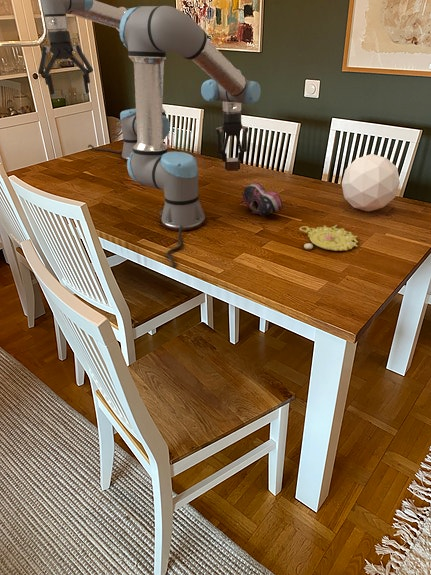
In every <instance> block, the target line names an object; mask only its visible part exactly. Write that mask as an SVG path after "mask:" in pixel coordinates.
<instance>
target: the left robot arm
mask: <svg viewBox="0 0 431 575" xmlns="http://www.w3.org/2000/svg"><path fill="white" fill-rule="evenodd" d="M40 1H41V5H42V10H43V11H42V12H43V15H44V21H45V25H46V30H48V32H47V35H48V41H49V46H47V45H42V47H41V51H42V52H41V57H40V61H39V67H38V71H37V73H38V75H42V76H43V77H44V81H45V85H46V86H48V88H49V93H50V95H52V96H53V95H54V94H55V89H54V85H53V78H52V75H51V74H50V72H51V70H52V68H53V67H54V65H55V63H56V61H57V60H68V59H69V60H70V61H71V62H73V63H74V64H75V65H76V67H78V69H79V70H80V71H82V73H83V74H82V78H83V85H84V90H85V94H89V93H90V88H89V84H90V83H91V79H90V73H93V72H94V68H93V67H92V65H91V63H90V62H89V60H88V59H87V57H86V55H85V53H84V52H83V50H82V46H81V45H80V44H76V45H73V44H72V39H71V34H70V31H69V24H68V18H67V15H70V16H73V17H77V18H81V19H84V20H87V21H90V22H93V23H94V22H95V23H96V24H97V23H98V24H100V25H104V26H108V27H110V28H111V27H112V28H115V29H116V30H117V31H118V32H119V28H120V22H121V19H122V17H123V15H124V14H125V13H126V11H127V10H129V9H130V8H128V7H124V6H119V7H116V6H113V5H109V4H107V3H104V2H100V1H98V0H40ZM73 51H75V52H76V53H77V55H78V56H79V58H80V59H81V61H82V62H81V61H80V60H79V59H78V58H76V56H75V55H74V54H73ZM50 52H51V53H52V56H51V58H50V60H49V62H48V64H47V63H46V62H47V59H48V54H49V53H50ZM46 64H47V66H46ZM84 65H85V66H84ZM45 66H46V68H45ZM164 72H165V60H164V61H163V62H162V64H161V75H162V105H163V104H164V101H163V100H164V74H165V73H164ZM119 117H120V118H119V119H120V125H121V133H122V139H123V140H122V141H123V145H122V150H113V149H108V148H98V147H94V146H93V145H92V144H88V145H87V148H90V147H91V149H93V150H95V151H103V152H110V153H113V154H114V153H115V154H121V159H122V160H123V161H126V162H127V161H128V158H130V154H131V153H132V152H133V146H134V145H135V144H136V143H137V122H136V108H130V109H125V110H122V111H121V112H120V113H119ZM162 127H163V141H164V140H165V139H166V138H167V137H168V135H169V133H170V130H171V122H170V120H169V118H168V117H167V116H166V110H165V109H164V107H163V106H162Z"/></svg>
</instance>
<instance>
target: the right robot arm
mask: <svg viewBox="0 0 431 575" xmlns="http://www.w3.org/2000/svg"><path fill="white" fill-rule="evenodd" d="M118 32H119V38H120V40H121V42H122V43H123V46H124V47H125V48H126V49H127V52H128V58H129V59H130V61H132V63H133V74H134V75H133V76H134V92H135V93H134V97H135V100H134V101H135V109H136V122H137V143H136V144H135V145H134V146H133V152H132V153H131V154H130V158H128V161H126V169H127V172H128V175H129V178H131V180H133V181H134V182H135V183H137V184H138V185H141V186H143V187H149V188H153V189H156V190H160V191H162V192H163V194H164V204H163V209H162V210H159V216H161V219H160V220H161V225H162V227H163V228H165V229H167V230H170V231H175V232H176V231H177V232H178V236H177V242H178V243H179V245H178V246H175V247H173V248H171V249H169V250H168V251H167V252H166V257H167V258H168V259H169V260H170V262H171V265H172V268H173V269H175V268H176V264H175V259H174V258H173V257H172V256H171V255H170V253H172V252H174V251H177V250H179V249H181V248H182V247H183V242H182V240H181V238H182V232H185V231H186V232H187V231H192V230H195V229H198V228H201V227H202V226H203V225H204V224H205V223H206V215H205V212H204V210H203V208H202V204H201V202H200V196H199V168H198V162H197V160H196V158H195V156H193V155H192V154H190V153H187V152H184V151H168V146H167V145H166V144H165V143H164V140H163V127H162V107H163V104H162V75H161V64H162V62H163V61H164V62H165V60H167V52H168V53H169V52H170V53H174V54H177V55H180V56H181V57H182V58H184V59H185V60H187V61H192V62H193V63H194V64H196V66H198V67H199V68H200V69H201V70H202V71H203V72H205V74H207V75H208V77H210V79H207V80H205V81H204V82H202V85H201V88H200V92H201V96H202V98H203V99H204V100H205V101H206V102H208V103H213V102H215V103H216V102H222V125H221V126H220V127H216V128H215V131H216V134H217V153H218V154H221V160H222V162H224V170H225V171H227V158H228V154H227V152H226V151H227V147H228V142H229V140H230V137H232V136H233V137H235V138H236V143H237V147H238V150H239V152H237V158H238V161H239V170H241V162H243V160H244V153H247V152H248V132H249V127H248V126H244V125H243V123H242V112H241V111H242V104H244V105H254V104H257V103H258V102H259V100H260V97H261V85H260V83H259V82H257V81H253V80H248V79H247V78H246V77H245V76H244V75H243V74H242V71H241V70H240V69H237V67H235V66H234V65H233V64H232V63H231V61H230V60H228V58H226V57H225V56H224V55H223V54H222V52H221V51H219V49H218V48H217V47H216V46H215V45H214V44H213V43H212V41H210V40H209V39H208V35H207V32H206V31H205V30H204V28H202V27H201V26H200V25H199V24H198V22H197V21H195V20H194V19H193V18H191V17H190V16H189V15H188V14H186V13H185V12H183V11H181V10H180V9H178V8H176V7H173V6H170V5H156V6H155V5H147V6H146V5H143V6H142V5H139V6H136V7H131V8H129V10H127V11H126V13H125V14H124V15H123V17H122V19H121V22H120V28H119V31H118ZM241 130H242V132H243V147H242V143H241V139H240V136H239V134H240V132H241ZM223 132H224V133H225V136H224V140H223V145H222V140H221V139H222V138H221V136H222V135H221V133H223Z"/></svg>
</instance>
